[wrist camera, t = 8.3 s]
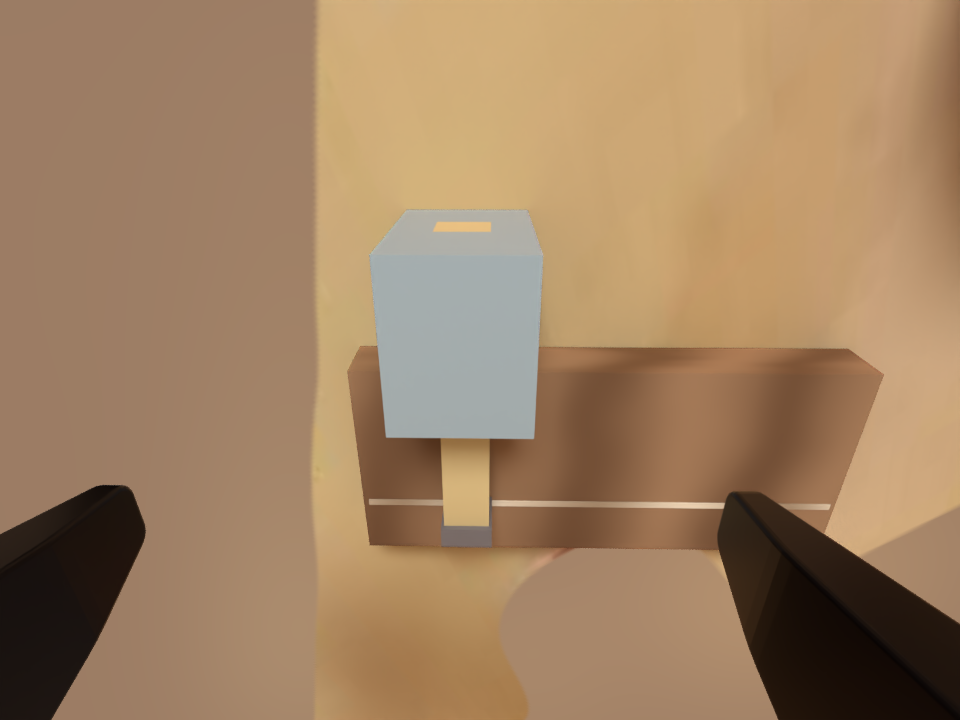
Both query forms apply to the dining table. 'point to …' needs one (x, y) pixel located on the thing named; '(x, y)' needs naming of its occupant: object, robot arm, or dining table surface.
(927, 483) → the dining table surface
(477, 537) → the light blue block
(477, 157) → the dining table surface
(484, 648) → the dining table surface
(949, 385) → the dining table surface
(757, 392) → the board
